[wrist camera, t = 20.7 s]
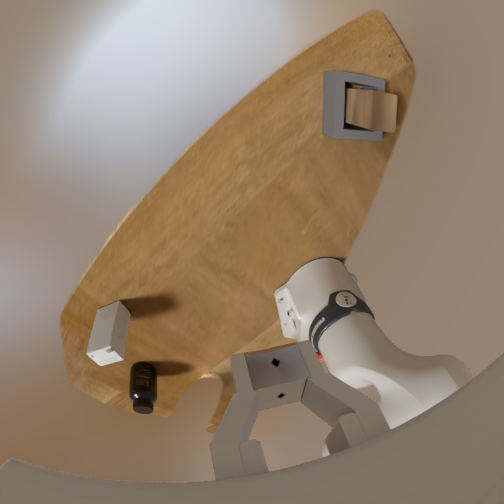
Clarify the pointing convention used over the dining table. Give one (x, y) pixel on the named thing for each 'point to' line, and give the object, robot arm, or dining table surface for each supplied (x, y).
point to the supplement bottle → (143, 387)
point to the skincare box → (109, 334)
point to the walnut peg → (370, 109)
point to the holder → (335, 105)
